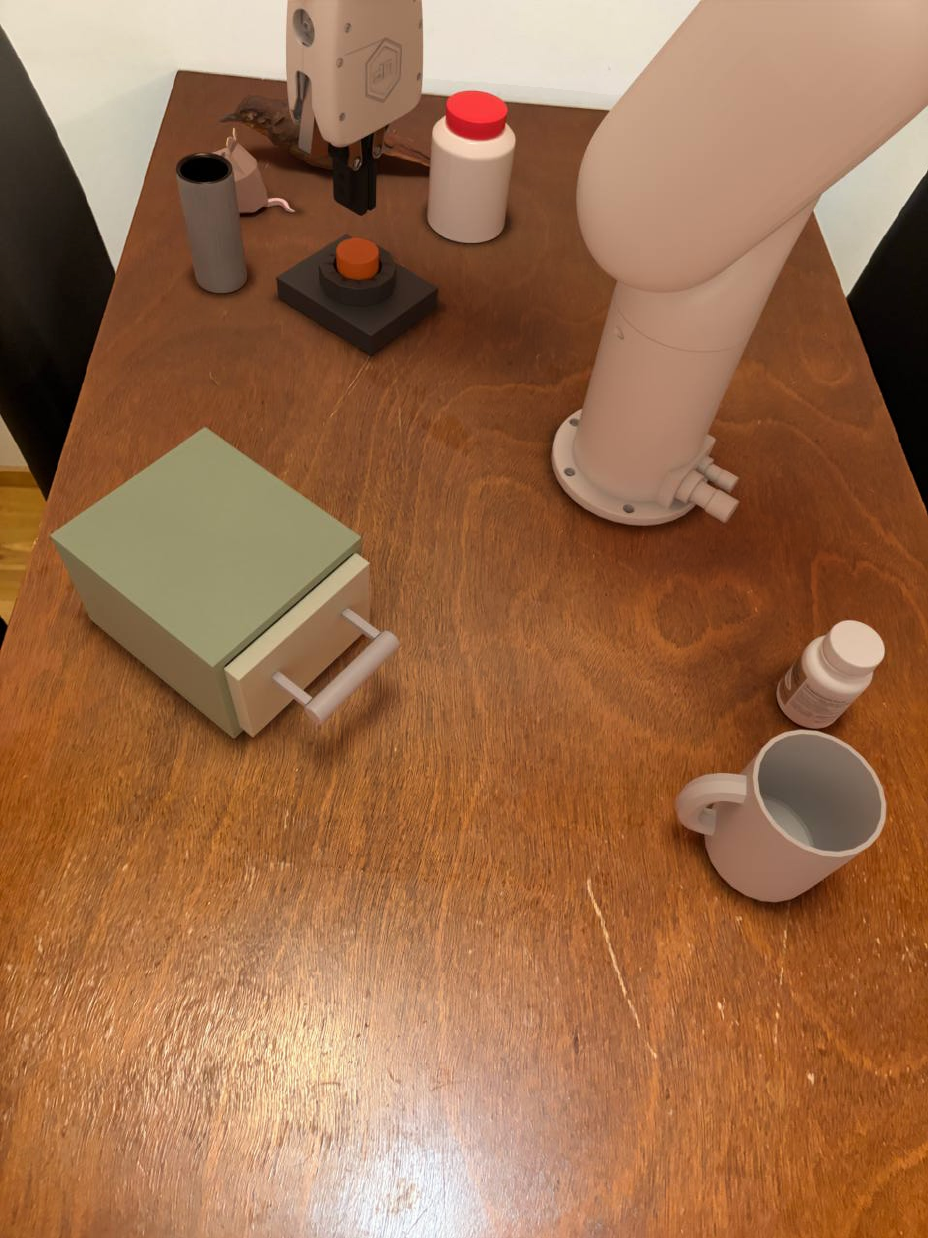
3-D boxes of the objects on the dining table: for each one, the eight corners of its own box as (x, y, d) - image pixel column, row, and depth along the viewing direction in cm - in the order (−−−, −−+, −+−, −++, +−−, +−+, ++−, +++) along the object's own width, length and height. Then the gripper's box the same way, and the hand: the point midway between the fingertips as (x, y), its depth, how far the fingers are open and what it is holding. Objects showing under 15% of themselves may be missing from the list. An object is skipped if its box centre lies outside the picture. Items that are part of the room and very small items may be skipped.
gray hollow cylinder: (186, 284, 79) (163, 172, 71) (212, 256, 82) (194, 145, 73) (231, 299, 79) (214, 189, 70) (256, 271, 81) (243, 161, 72)
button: (387, 268, 77) (387, 250, 76) (359, 286, 75) (359, 268, 74) (356, 250, 78) (355, 232, 77) (328, 268, 76) (327, 249, 75)
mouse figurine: (287, 227, 85) (281, 158, 79) (206, 212, 85) (194, 142, 80) (302, 196, 88) (297, 128, 82) (223, 182, 88) (213, 113, 82)
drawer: (417, 662, 59) (423, 600, 53) (302, 779, 54) (294, 725, 48) (238, 529, 64) (224, 458, 58) (117, 625, 59) (87, 559, 52)
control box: (437, 307, 80) (440, 269, 77) (371, 356, 76) (371, 317, 73) (346, 254, 83) (345, 214, 80) (278, 298, 79) (274, 258, 76)
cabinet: (363, 618, 62) (361, 536, 54) (234, 739, 56) (212, 667, 48) (224, 515, 65) (204, 426, 58) (90, 619, 60) (49, 534, 52)
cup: (818, 916, 53) (891, 870, 45) (653, 881, 53) (699, 829, 46) (814, 803, 57) (881, 744, 49) (660, 771, 57) (703, 707, 50)
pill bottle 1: (518, 216, 89) (535, 104, 80) (478, 253, 85) (491, 139, 76) (454, 187, 91) (463, 74, 82) (411, 222, 87) (416, 107, 78)
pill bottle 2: (789, 662, 63) (837, 601, 56) (847, 696, 62) (903, 637, 55) (764, 706, 61) (811, 647, 54) (823, 742, 59) (878, 687, 53)
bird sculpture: (459, 211, 93) (471, 165, 89) (212, 157, 87) (213, 106, 83) (457, 177, 97) (468, 131, 93) (220, 123, 91) (221, 72, 87)
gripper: (314, -7, 52) (325, 266, 68) (470, -73, 59) (448, 188, 75) (223, -52, 54) (254, 223, 70) (385, -111, 61) (380, 150, 77)
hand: (354, 204), depth 72 cm, fingers closed
